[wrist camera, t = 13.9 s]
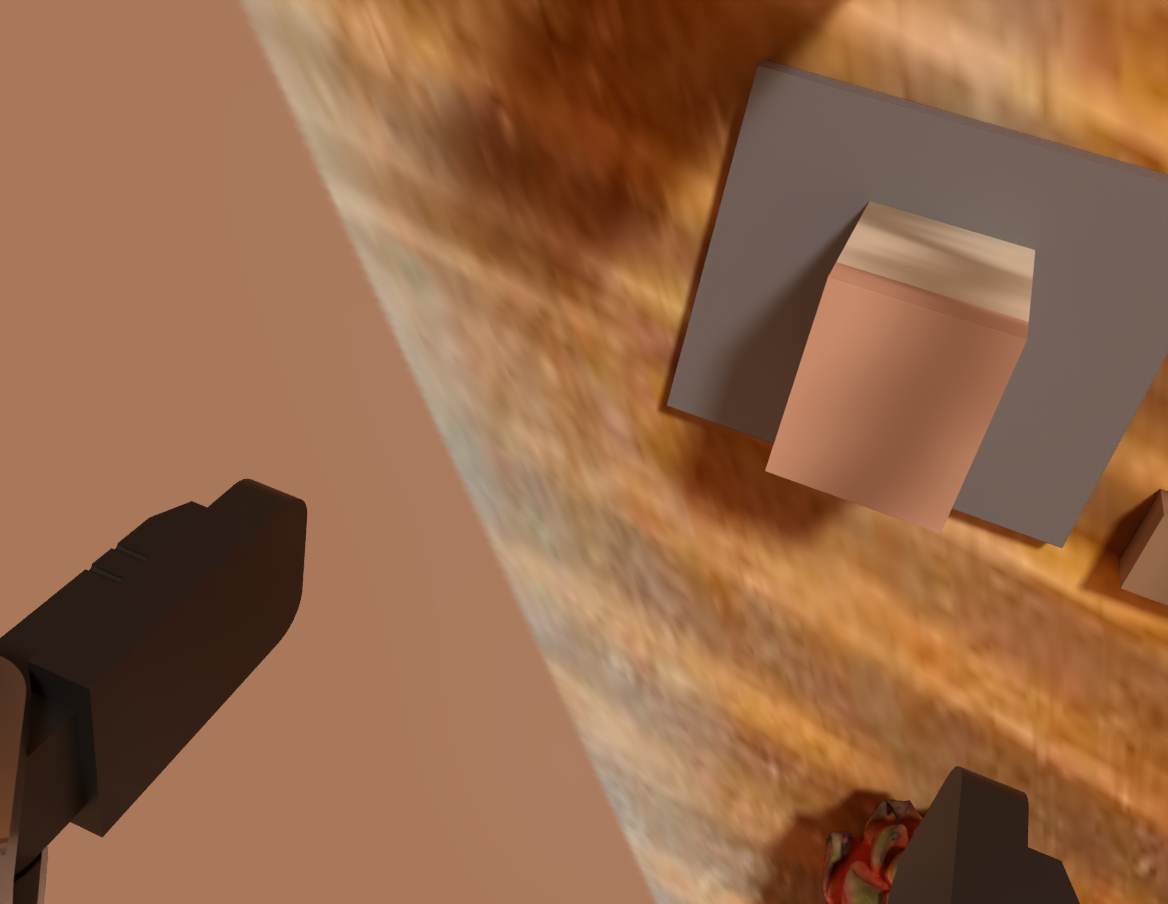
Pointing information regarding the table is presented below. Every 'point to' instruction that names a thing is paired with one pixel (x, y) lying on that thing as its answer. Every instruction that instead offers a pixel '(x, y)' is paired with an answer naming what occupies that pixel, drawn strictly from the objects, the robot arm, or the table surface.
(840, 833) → the dragon fruit
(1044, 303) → the charcoal mat
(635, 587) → the table surface
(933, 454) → the pinkish tan block
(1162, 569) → the block
